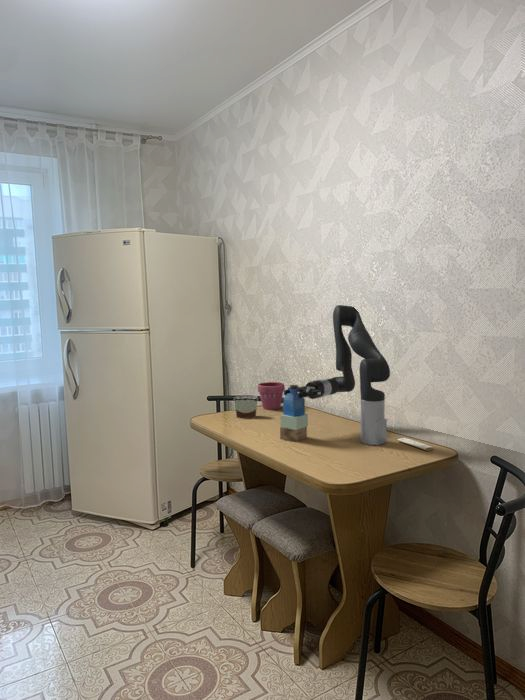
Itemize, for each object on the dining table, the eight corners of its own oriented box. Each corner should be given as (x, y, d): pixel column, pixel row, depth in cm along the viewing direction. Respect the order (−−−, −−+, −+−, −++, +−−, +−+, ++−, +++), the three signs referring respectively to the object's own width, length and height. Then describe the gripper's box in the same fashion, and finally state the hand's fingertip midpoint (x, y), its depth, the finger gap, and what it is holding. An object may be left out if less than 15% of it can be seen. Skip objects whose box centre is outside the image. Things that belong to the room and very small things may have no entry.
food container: (260, 414, 255) (259, 394, 254) (258, 417, 248) (258, 397, 247) (235, 414, 256) (235, 394, 255) (233, 417, 250) (233, 397, 249)
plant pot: (257, 405, 276) (257, 381, 275) (283, 404, 277) (283, 381, 276) (258, 411, 262) (258, 386, 261) (286, 410, 263) (285, 385, 262)
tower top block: (307, 426, 212) (307, 414, 211) (296, 430, 205) (296, 417, 205) (292, 423, 217) (291, 411, 216) (280, 427, 210) (280, 415, 210)
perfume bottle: (294, 412, 215) (293, 383, 214) (304, 414, 210) (304, 385, 209) (283, 414, 211) (283, 385, 210) (293, 417, 206) (293, 387, 205)
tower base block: (306, 437, 213) (306, 425, 212) (297, 442, 206) (297, 430, 206) (290, 434, 217) (289, 423, 217) (280, 439, 210) (280, 427, 210)
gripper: (306, 378, 225) (279, 383, 214) (331, 382, 214) (304, 387, 203) (306, 395, 225) (279, 400, 215) (331, 399, 215) (304, 405, 204)
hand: (291, 394), depth 209 cm, fingers open, 7 cm apart
